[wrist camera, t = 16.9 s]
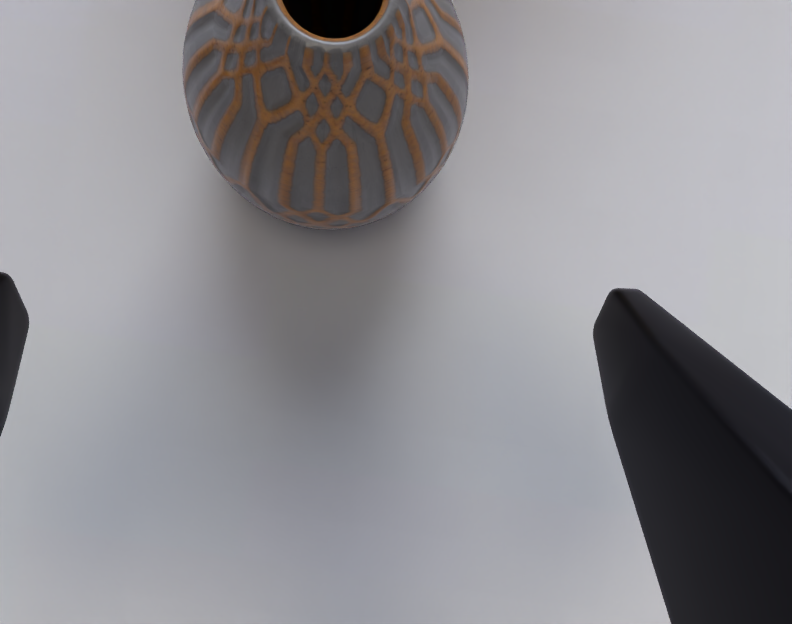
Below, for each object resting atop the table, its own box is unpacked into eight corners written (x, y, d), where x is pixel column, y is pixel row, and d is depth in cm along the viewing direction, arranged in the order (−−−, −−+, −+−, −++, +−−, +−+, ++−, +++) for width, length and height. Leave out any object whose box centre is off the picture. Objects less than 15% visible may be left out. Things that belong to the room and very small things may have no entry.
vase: (279, 280, 19) (242, 256, 10) (172, 76, 19) (40, -130, 10) (474, 182, 20) (594, 82, 11) (375, -17, 19) (419, -285, 11)
